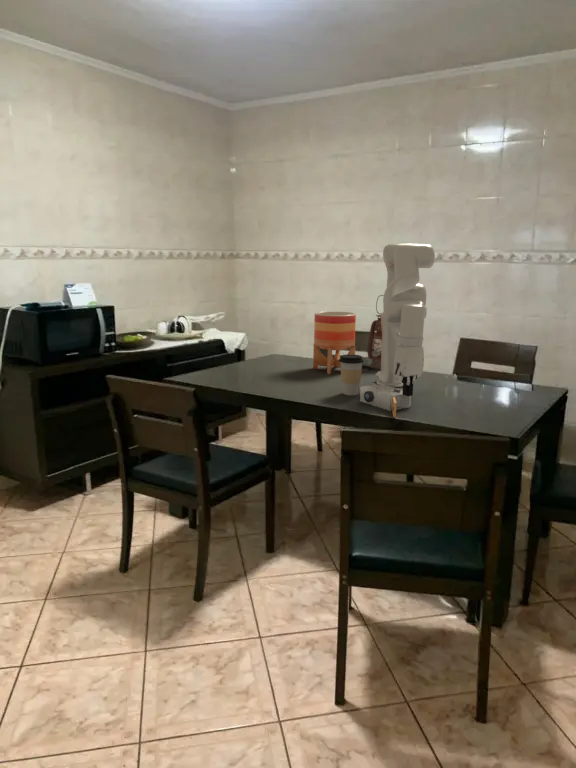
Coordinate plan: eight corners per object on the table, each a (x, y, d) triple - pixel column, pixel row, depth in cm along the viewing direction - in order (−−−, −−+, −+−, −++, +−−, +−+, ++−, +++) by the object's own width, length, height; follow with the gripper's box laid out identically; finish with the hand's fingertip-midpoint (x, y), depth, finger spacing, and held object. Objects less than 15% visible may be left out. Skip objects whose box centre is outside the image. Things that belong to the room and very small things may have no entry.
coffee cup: (366, 392, 222) (367, 355, 219) (356, 397, 214) (357, 359, 211) (344, 389, 227) (345, 353, 223) (334, 394, 219) (335, 356, 215)
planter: (318, 364, 279) (319, 310, 273) (358, 367, 273) (360, 312, 267) (307, 372, 260) (308, 314, 254) (349, 375, 254) (351, 316, 248)
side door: (394, 410, 196) (395, 396, 195) (396, 417, 187) (396, 402, 186) (390, 409, 196) (391, 396, 195) (392, 417, 187) (392, 402, 186)
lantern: (373, 363, 283) (376, 293, 275) (401, 367, 273) (405, 295, 265) (361, 366, 275) (363, 294, 267) (389, 371, 265) (393, 296, 257)
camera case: (357, 401, 208) (358, 385, 207) (379, 397, 214) (380, 381, 213) (387, 411, 195) (388, 394, 194) (410, 407, 202) (411, 390, 200)
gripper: (418, 337, 192) (415, 389, 196) (386, 342, 184) (383, 395, 188) (435, 341, 186) (431, 394, 190) (402, 346, 178) (399, 401, 182)
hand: (407, 395), depth 189 cm, fingers closed
